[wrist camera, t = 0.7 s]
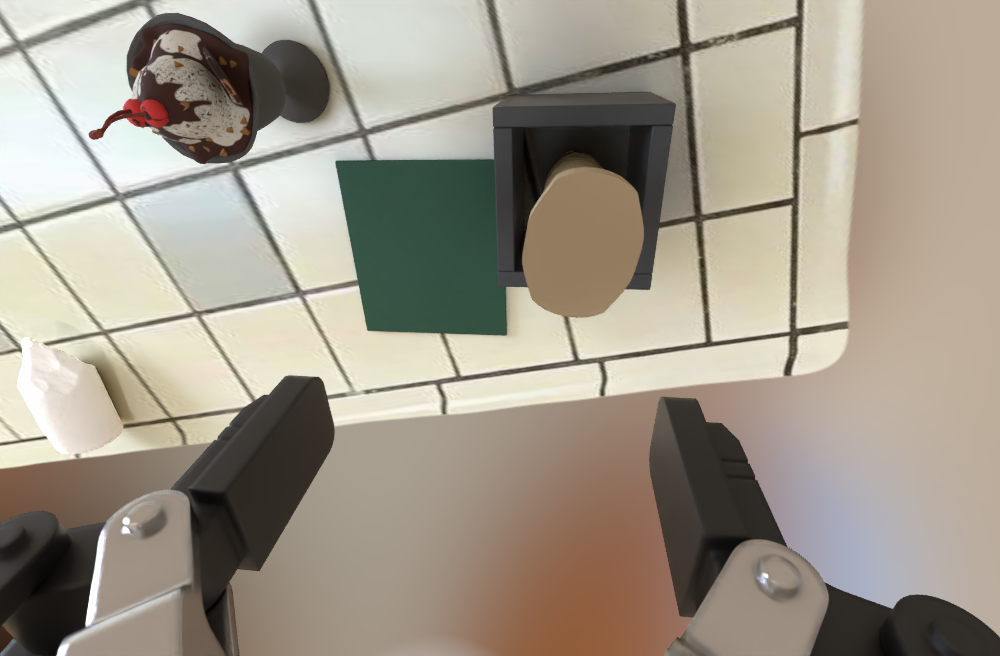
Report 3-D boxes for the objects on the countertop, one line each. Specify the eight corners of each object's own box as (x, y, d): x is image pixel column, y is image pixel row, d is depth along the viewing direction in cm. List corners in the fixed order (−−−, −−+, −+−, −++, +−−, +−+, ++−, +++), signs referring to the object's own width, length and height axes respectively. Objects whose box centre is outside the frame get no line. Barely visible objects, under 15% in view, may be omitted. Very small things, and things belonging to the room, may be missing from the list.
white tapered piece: (95, 322, 45) (38, 355, 40) (137, 421, 51) (91, 460, 46) (35, 315, 45) (-28, 347, 40) (84, 414, 51) (33, 452, 46)
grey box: (508, 95, 31) (492, 107, 24) (650, 91, 30) (676, 103, 23) (510, 242, 36) (498, 286, 29) (633, 243, 35) (650, 290, 28)
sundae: (244, 118, 34) (46, 158, 21) (247, 9, 30) (14, -24, 18) (334, 149, 34) (195, 208, 21) (347, 45, 31) (191, 39, 18)
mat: (336, 160, 35) (335, 161, 34) (502, 159, 33) (501, 160, 33) (368, 329, 41) (367, 330, 41) (506, 333, 40) (506, 335, 40)
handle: (621, 130, 31) (662, 183, 18) (597, 224, 35) (617, 325, 22) (548, 118, 32) (538, 162, 19) (531, 212, 35) (513, 306, 22)
